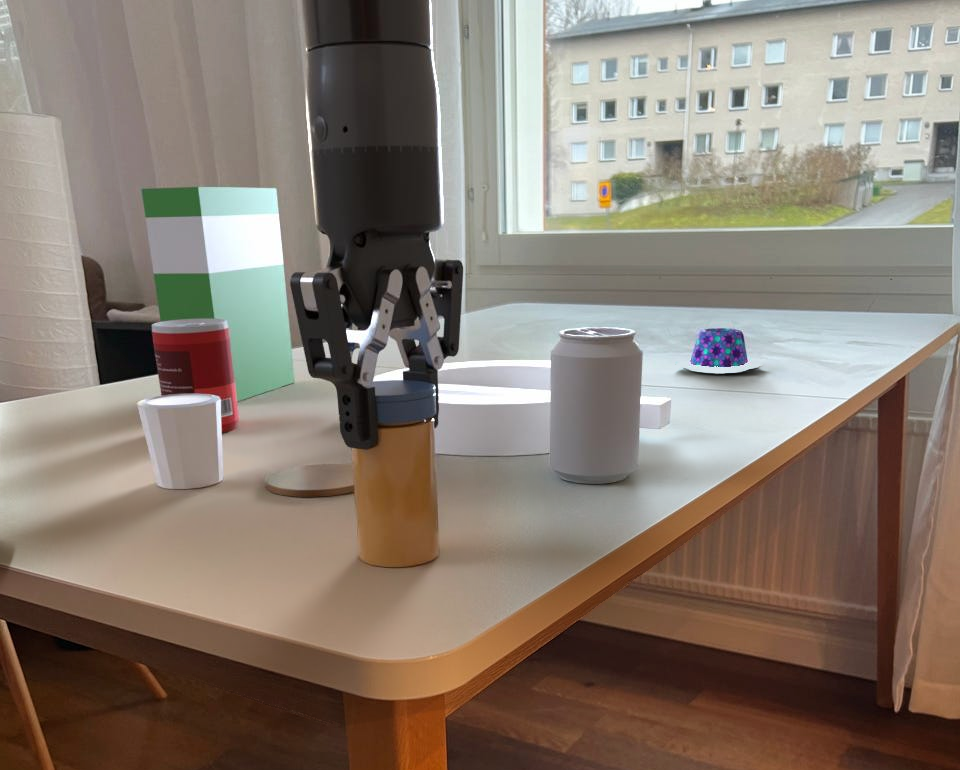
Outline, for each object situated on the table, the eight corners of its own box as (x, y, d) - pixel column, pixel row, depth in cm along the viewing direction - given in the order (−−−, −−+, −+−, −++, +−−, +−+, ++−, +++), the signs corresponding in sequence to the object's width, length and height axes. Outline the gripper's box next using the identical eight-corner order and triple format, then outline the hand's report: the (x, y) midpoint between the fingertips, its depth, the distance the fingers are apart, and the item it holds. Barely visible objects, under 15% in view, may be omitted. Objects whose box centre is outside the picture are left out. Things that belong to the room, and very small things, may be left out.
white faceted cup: (182, 495, 82) (170, 409, 79) (132, 483, 86) (119, 401, 83) (246, 477, 87) (237, 396, 84) (197, 467, 91) (186, 389, 88)
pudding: (729, 379, 129) (732, 337, 127) (655, 370, 137) (657, 331, 135) (780, 368, 136) (784, 329, 134) (707, 361, 145) (710, 323, 142)
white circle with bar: (345, 412, 114) (342, 369, 112) (572, 394, 121) (572, 354, 119) (402, 467, 89) (400, 413, 87) (682, 440, 97) (685, 390, 95)
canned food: (245, 420, 111) (233, 317, 106) (233, 435, 103) (220, 325, 99) (175, 422, 110) (160, 319, 106) (159, 437, 103) (142, 327, 99)
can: (617, 490, 80) (623, 336, 75) (534, 480, 84) (534, 332, 79) (650, 469, 86) (657, 326, 81) (571, 461, 90) (573, 323, 85)
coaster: (266, 500, 80) (265, 493, 79) (266, 474, 88) (265, 467, 88) (378, 492, 81) (377, 485, 81) (367, 467, 89) (367, 460, 89)
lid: (398, 427, 59) (397, 398, 58) (326, 419, 62) (323, 391, 61) (454, 410, 64) (453, 383, 63) (383, 403, 67) (382, 377, 66)
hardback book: (246, 380, 137) (225, 189, 127) (294, 382, 135) (276, 188, 125) (172, 403, 122) (141, 188, 112) (225, 405, 119) (198, 186, 110)
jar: (364, 571, 64) (352, 407, 59) (354, 545, 68) (342, 393, 64) (446, 563, 65) (440, 401, 61) (431, 538, 70) (424, 387, 65)
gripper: (343, 135, 49) (367, 469, 56) (498, 144, 60) (502, 422, 67) (236, 143, 53) (270, 455, 60) (399, 150, 64) (413, 413, 71)
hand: (393, 436), depth 63 cm, fingers closed on lid, 5 cm apart
